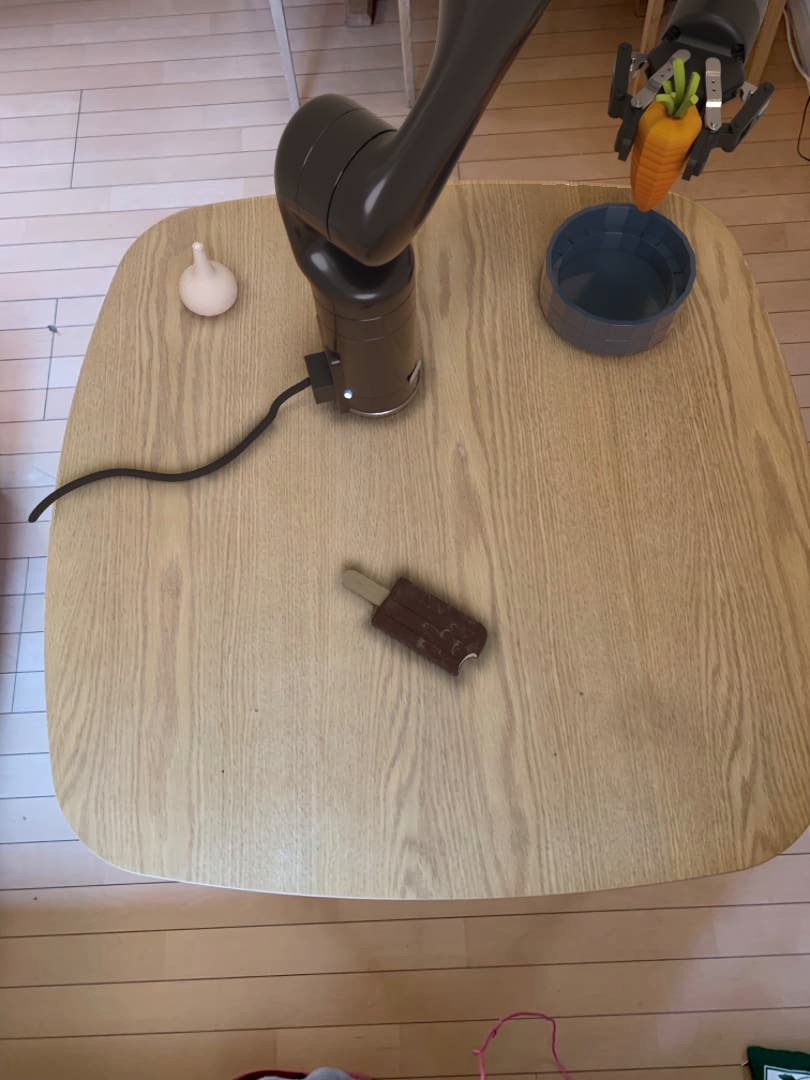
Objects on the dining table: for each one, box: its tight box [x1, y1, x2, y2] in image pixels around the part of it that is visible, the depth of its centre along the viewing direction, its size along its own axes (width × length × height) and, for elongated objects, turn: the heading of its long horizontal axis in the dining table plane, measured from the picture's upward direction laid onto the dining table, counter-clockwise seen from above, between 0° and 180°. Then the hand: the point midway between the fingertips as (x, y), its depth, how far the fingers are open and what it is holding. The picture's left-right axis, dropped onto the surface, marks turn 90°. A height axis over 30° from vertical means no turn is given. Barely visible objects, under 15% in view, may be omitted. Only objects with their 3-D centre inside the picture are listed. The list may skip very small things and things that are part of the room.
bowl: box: [539, 202, 697, 356], centre depth 90 cm, size 15×15×6 cm
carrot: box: [629, 58, 702, 212], centre depth 71 cm, size 5×5×15 cm
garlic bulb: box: [178, 241, 238, 317], centre depth 90 cm, size 6×6×8 cm
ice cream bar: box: [341, 569, 488, 677], centre depth 80 cm, size 5×2×15 cm
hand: (656, 162), depth 70 cm, fingers closed on carrot, 5 cm apart
